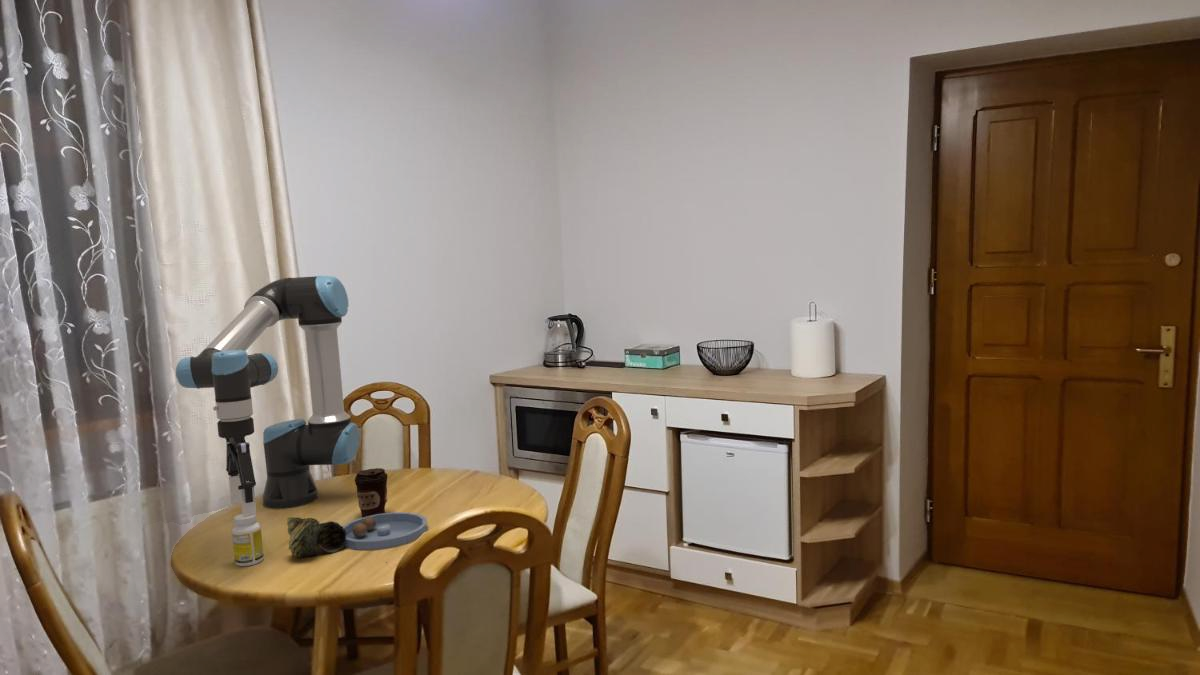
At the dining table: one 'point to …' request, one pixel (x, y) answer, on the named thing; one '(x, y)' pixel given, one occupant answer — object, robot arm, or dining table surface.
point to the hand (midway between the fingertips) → (243, 509)
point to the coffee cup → (371, 491)
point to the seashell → (314, 537)
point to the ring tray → (397, 529)
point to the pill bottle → (247, 541)
